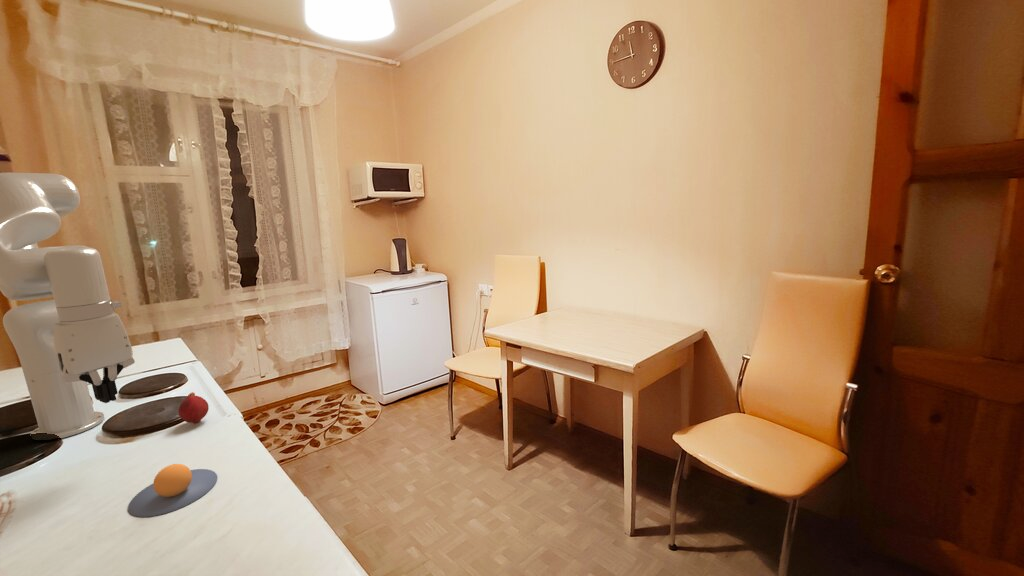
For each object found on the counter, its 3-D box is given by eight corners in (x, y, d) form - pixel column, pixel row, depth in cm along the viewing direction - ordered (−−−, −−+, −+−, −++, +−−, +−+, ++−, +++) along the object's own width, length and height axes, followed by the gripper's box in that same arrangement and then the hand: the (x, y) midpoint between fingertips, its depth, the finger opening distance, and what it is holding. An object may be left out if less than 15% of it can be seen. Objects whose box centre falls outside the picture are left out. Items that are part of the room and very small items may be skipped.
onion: (195, 430, 101) (189, 399, 99) (175, 428, 102) (168, 397, 101) (216, 418, 107) (210, 388, 105) (197, 416, 108) (191, 387, 106)
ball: (152, 471, 74) (165, 499, 74) (188, 454, 79) (201, 481, 78) (144, 479, 77) (157, 506, 76) (179, 462, 82) (192, 488, 81)
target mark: (113, 504, 76) (113, 503, 76) (193, 463, 87) (193, 462, 87) (151, 526, 70) (151, 525, 70) (232, 479, 82) (231, 478, 81)
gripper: (124, 302, 90) (143, 383, 94) (22, 320, 77) (48, 413, 81) (142, 304, 87) (160, 388, 91) (39, 324, 74) (65, 421, 78)
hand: (107, 400), depth 86 cm, fingers closed
